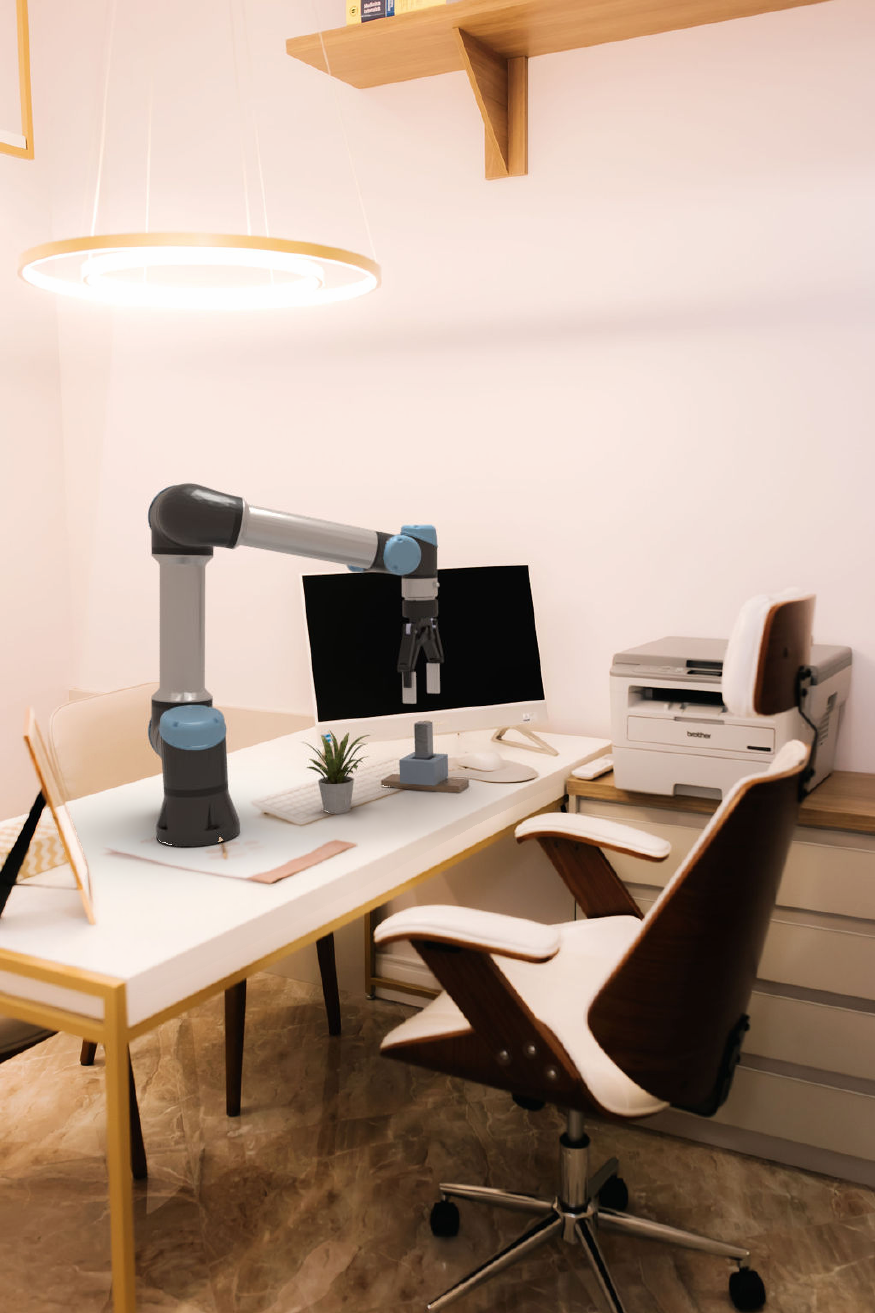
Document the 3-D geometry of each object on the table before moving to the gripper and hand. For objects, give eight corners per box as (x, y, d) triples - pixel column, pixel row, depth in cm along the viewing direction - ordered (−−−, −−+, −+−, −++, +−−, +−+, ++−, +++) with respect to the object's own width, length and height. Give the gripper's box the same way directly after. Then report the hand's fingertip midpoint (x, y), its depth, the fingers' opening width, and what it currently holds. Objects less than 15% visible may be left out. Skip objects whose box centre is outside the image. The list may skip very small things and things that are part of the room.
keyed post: (459, 793, 219) (458, 727, 217) (381, 787, 226) (379, 723, 224) (468, 786, 225) (467, 722, 223) (392, 780, 231) (390, 718, 229)
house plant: (393, 807, 210) (391, 727, 207) (349, 824, 198) (346, 740, 196) (338, 798, 218) (335, 720, 215) (293, 814, 206) (290, 733, 204)
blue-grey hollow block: (434, 785, 220) (434, 762, 219) (399, 783, 223) (399, 760, 222) (448, 776, 227) (447, 754, 227) (414, 774, 230) (413, 752, 229)
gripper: (414, 603, 207) (415, 708, 210) (457, 594, 230) (458, 689, 233) (379, 602, 210) (381, 706, 212) (425, 594, 233) (427, 688, 235)
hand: (421, 698), depth 223 cm, fingers open, 13 cm apart
